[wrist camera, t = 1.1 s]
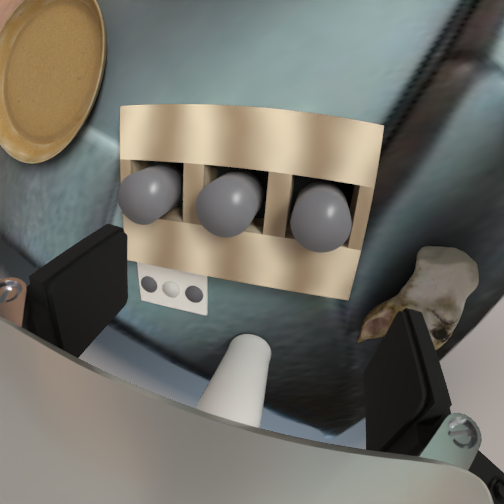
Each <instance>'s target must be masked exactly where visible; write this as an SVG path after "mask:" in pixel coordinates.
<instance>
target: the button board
mask: <svg viewBox="0 0 504 504" xmlns="http://www.w3.org/2000/svg"><path fill="white" fill-rule="evenodd" d="M383 130H384V126H383V125H378V124H374V123H369V122H363V121H358V120H353V119H347V118H341V117H335V116H328V115H322V114H315V113H307V112H299V111H291V110H281V109H271V108H260V107H246V106H230V105H203V104H158V105H131V106H120V172H121V182H122V181H123V179H124V178H125V177H127V176H128V175H130V174H133V173H135V172H138V171H140V170H143V169H145V168H148V167H151V161H164V162H179V163H184V171H183V208H182V207H174V208H173V209H171V210H170V211H168V212H167V213H166V214H164V215H163V216H161V217H160V218H159V219H157V220H156V221H154V222H153V223H151V224H147V225H140V224H136V223H134V222H132V221H131V220H129V219H128V218H127V217H126V216H125V215H124V213H123V212H122V213H123V226H124V233H126V234H127V238H128V240H127V260H129V261H134V262H139V263H144V264H149V265H154V266H159V267H164V268H169V269H174V270H179V271H184V272H189V273H194V274H199V275H205V276H210V277H215V278H221V279H226V280H231V281H237V282H242V283H248V284H254V285H259V286H265V287H271V288H276V289H282V290H288V291H294V292H300V293H306V294H312V295H318V296H324V297H330V298H337V299H343V300H349V296H350V292H351V289H352V285H353V281H354V277H355V273H356V269H357V265H358V261H359V257H360V253H361V249H362V244H363V240H364V236H365V231H366V226H367V222H368V217H369V212H370V207H371V202H372V197H373V192H374V186H375V181H376V175H377V169H378V163H379V157H380V151H381V144H382V137H383ZM218 166H225V167H235V168H244V169H253V170H261V171H269V176H268V187H267V197H266V208H265V218H264V219H262V218H256V217H254V218H253V220H252V221H251V223H250V224H249V226H248V227H247V229H246V230H245V231H244V232H242V233H241V234H239V235H237V236H234V237H219V236H216V235H214V234H212V233H210V232H209V231H207V230H206V229H205V228H204V227H203V226H202V224H201V223H200V221H199V219H198V217H197V214H196V200H197V197H198V195H199V193H200V191H201V190H202V189H203V188H204V187H205V186H206V185H208V184H209V183H211V182H212V181H214V180H215V179H217V174H218ZM295 175H299V176H306V177H312V178H319V179H325V180H331V181H337V182H343V183H349V184H354V187H353V193H352V199H351V204H350V210H349V212H350V216H351V221H352V227H351V232H350V235H349V237H348V238H347V240H346V241H345V243H344V244H343V245H341V246H340V247H339V248H337V249H335V250H333V251H330V252H324V253H319V252H313V251H310V250H308V249H306V248H304V247H303V246H301V245H300V244H299V243H298V242H297V241H296V239H295V238H294V236H293V233H292V231H291V224H290V223H289V220H290V212H291V204H292V196H293V188H294V179H295Z"/></svg>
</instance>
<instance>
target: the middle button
mask: <svg viewBox="0 0 504 504" xmlns="http://www.w3.org/2000/svg"><path fill="white" fill-rule="evenodd" d="M263 199H264V191H263V187H262V185H261V183H260V181H259V180H258V179H257V178H256V177H255V176H254V175H253V174H252V173H250V172H248V171H245V170H239V169H237V170H231V171H228V172H226V173H224V174H223V175H221V176H220V177H218V178H217V179H215V180H214V181H212V182H211V183H209V184H208V185H206V186H205V187H204V188H203V189H202V190H201V191H200V193H199V195H198V197H197V200H196V214H197V217H198V219H199V221H200V223H201V224H202V226H203V227H204V228H205V229H206V230H207V231H209V232H210V233H212V234H214V235H216V236H219V237H234V236H237V235H239V234H241V233H242V232H244V231H245V230H246V229H247V227H248V226H249V224H250V223H251V221H252V220H253V218H254V217H255V215H256V214H257V212H258V210H259V209H260V207H261V205H262V203H263Z"/></svg>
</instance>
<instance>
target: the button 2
mask: <svg viewBox="0 0 504 504" xmlns="http://www.w3.org/2000/svg"><path fill="white" fill-rule="evenodd" d="M290 224H291V231H292V233H293V236H294V238H295V239H296V241H297V242H298V243H299V244H300V245H301V246H303V247H304V248H306V249H308V250H310V251H313V252H319V253H324V252H330V251H333V250H335V249H337V248H339V247H340V246H341V245H343V244H344V243H345V241H346V240H347V238H348V237H349V235H350V232H351V227H352V221H351V216H350V212H349V208H348V204H347V200H346V197H345V195H344V193H343V191H342V190H341V189H340V188H339V187H338V186H336V185H335V184H333V183H331V182H327V181H315V182H312V183H309V184H308V185H306V186H305V187H304V188H303V189H302V190H301V191H300V192H299V194H298V196H297V199H296V203H295V206H294V209H293V212H292V216H291V222H290Z"/></svg>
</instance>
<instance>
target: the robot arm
mask: <svg viewBox="0 0 504 504" xmlns="http://www.w3.org/2000/svg"><path fill="white" fill-rule="evenodd" d="M127 240H128V238H127V234H126V233H124V229H123V228H121V227H118V226H114V225H111V224H106V225H105V226H103V227H102V228H100V229H98V230H97V231H95V232H94V233H92V234H90V235H89V236H87V237H86V238H84V239H83V240H81V241H80V242H78V243H77V244H75V245H74V246H72V247H71V248H69V249H68V250H66V251H65V252H63V253H62V254H60V255H59V256H57V257H56V258H54V259H53V260H52V261H50V262H49V263H47V264H46V265H44V266H43V267H42V268H40V269H39V270H37V271H36V272H35V273H33V274H32V275H31V276H29V279H30V285H29V286H27V287H26V284H25V283H24V282H23V281H22V280H20V279H17V278H6V279H1V280H0V504H504V473H503V472H502V471H501V470H500V469H499V468H497V467H496V466H495V465H494V464H493V463H492V462H491V461H490V460H489V459H488V458H486V457H485V456H484V455H483V454H482V453H481V452H480V451H479V450H478V449H479V447H480V444H481V433H480V430H479V427H478V426H477V424H476V423H475V422H474V421H473V420H472V419H471V418H470V417H468V416H467V415H464V414H461V413H453V414H451V412H450V406H451V405H452V404H451V400H450V397H449V393H448V389H447V386H446V382H445V379H444V376H443V373H442V369H441V366H440V363H439V360H438V357H437V354H436V351H435V348H434V345H433V342H432V339H431V336H430V333H429V330H428V328H427V325H426V322H425V319H424V317H423V314H422V312H420V311H416V310H412V309H408V308H405V309H404V310H403V311H398V312H397V314H396V316H395V318H394V320H393V321H392V323H391V325H390V327H389V329H388V331H387V333H386V334H385V336H384V338H383V340H382V342H381V343H380V345H379V347H378V349H377V350H376V352H375V354H374V355H373V357H372V359H371V361H370V362H369V364H368V366H367V367H366V369H365V373H364V391H365V413H366V450H364V449H358V448H352V447H346V446H340V445H334V444H328V443H323V442H317V441H312V440H308V439H303V438H298V437H293V436H289V435H285V434H280V433H276V432H273V431H269V430H265V429H260V428H257V427H254V426H250V425H246V424H243V423H239V422H236V421H232V420H229V419H226V418H223V417H219V416H216V415H213V414H210V413H207V412H204V411H201V410H198V409H195V408H192V407H190V406H186V405H184V404H181V403H179V402H176V401H173V400H171V399H168V398H165V397H163V396H160V395H158V394H155V393H153V392H150V391H148V390H145V389H143V388H141V387H138V386H136V385H134V384H131V383H129V382H127V381H125V380H122V379H120V378H118V377H116V376H113V375H111V374H109V373H107V372H105V371H102V370H101V369H99V368H97V367H94V366H92V365H91V364H88V363H86V362H85V361H82V360H81V359H79V356H80V355H81V354H82V353H83V352H84V351H85V349H86V348H87V347H88V346H89V345H90V344H91V343H92V341H93V340H94V339H95V338H96V337H97V336H98V335H99V334H100V332H101V331H102V330H103V329H104V328H105V327H106V326H107V325H108V324H109V323H110V321H111V320H112V319H113V318H114V317H115V316H116V315H117V314H118V313H119V312H120V310H121V309H122V308H123V307H124V306H125V304H126V302H127V299H128V286H127Z"/></svg>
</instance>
